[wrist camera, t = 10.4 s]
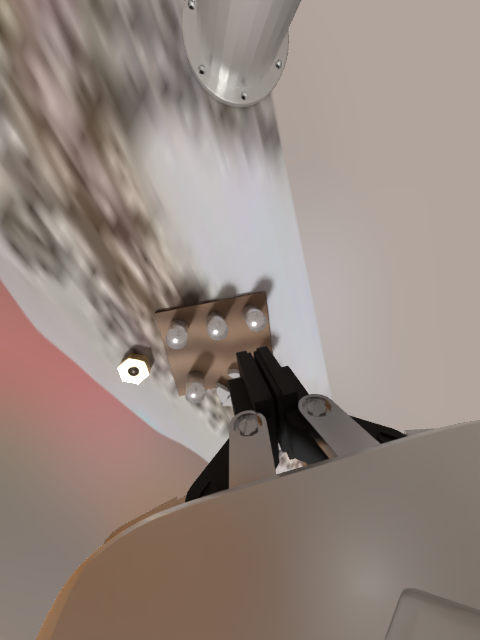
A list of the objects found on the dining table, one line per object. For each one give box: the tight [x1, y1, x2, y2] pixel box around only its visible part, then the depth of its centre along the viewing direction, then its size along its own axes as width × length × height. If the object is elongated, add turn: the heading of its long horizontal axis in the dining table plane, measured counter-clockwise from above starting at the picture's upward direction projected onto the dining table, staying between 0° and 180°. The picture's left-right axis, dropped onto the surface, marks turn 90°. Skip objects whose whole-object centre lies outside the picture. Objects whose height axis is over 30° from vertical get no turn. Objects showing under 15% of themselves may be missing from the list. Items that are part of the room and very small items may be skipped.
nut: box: [118, 353, 151, 384], centre depth 38 cm, size 4×5×2 cm
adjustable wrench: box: [216, 369, 285, 458], centre depth 46 cm, size 25×6×2 cm, turn 25°
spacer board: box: [155, 292, 272, 396], centre depth 41 cm, size 16×18×1 cm
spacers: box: [166, 304, 267, 403], centre depth 38 cm, size 13×15×5 cm
